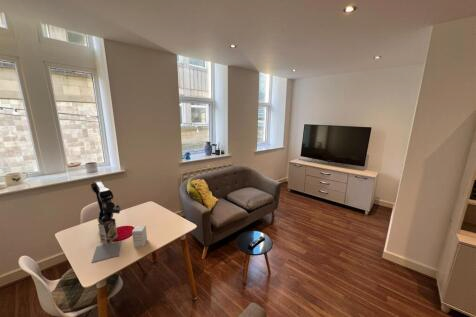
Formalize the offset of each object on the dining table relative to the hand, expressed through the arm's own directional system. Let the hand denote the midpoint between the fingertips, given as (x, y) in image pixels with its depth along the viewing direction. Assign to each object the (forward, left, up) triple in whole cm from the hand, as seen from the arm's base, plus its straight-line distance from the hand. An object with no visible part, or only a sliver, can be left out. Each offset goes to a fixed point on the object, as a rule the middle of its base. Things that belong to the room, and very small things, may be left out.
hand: (109, 224), depth 152 cm
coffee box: (+7, 0, -9) cm, 12 cm away
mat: (+20, 0, -10) cm, 23 cm away
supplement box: (+20, +21, -10) cm, 31 cm away
